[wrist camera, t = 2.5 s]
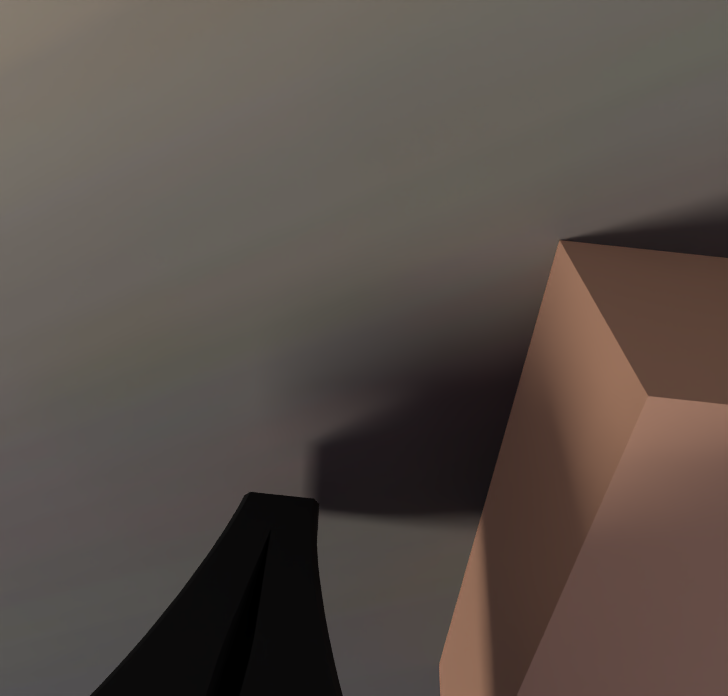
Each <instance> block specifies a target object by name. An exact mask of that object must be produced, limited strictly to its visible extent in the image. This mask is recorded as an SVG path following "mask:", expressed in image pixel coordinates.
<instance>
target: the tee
mask: <svg viewBox="0 0 728 696" xmlns="http://www.w3.org/2000/svg"><path fill="white" fill-rule="evenodd" d="M439 674H440V696H728V258H723V257H714V256H704V255H695V254H685V253H676V252H667V251H657V250H648V249H638V248H629V247H620V246H610V245H601V244H592V243H582V242H573V241H563V240H559V244H558V247H557V251H556V254H555V258H554V261H553V265H552V268H551V272H550V275H549V279H548V282H547V286H546V289H545V293H544V296H543V300H542V303H541V307H540V310H539V314H538V317H537V321H536V324H535V328H534V332H533V335H532V339H531V342H530V346H529V349H528V353H527V356H526V360H525V363H524V367H523V370H522V374H521V377H520V381H519V384H518V388H517V392H516V395H515V399H514V402H513V406H512V409H511V413H510V416H509V420H508V423H507V427H506V430H505V434H504V437H503V441H502V445H501V448H500V452H499V455H498V459H497V462H496V466H495V469H494V473H493V476H492V480H491V483H490V487H489V490H488V494H487V497H486V501H485V505H484V508H483V512H482V515H481V519H480V522H479V526H478V529H477V533H476V536H475V540H474V543H473V547H472V550H471V554H470V558H469V561H468V565H467V568H466V572H465V575H464V579H463V582H462V586H461V589H460V593H459V596H458V600H457V603H456V607H455V610H454V614H453V618H452V621H451V625H450V628H449V632H448V635H447V639H446V642H445V646H444V649H443V653H442V656H441V660H440V663H439Z"/></svg>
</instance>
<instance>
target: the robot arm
mask: <svg viewBox="0 0 728 696" xmlns="http://www.w3.org/2000/svg"><path fill="white" fill-rule="evenodd" d="M318 515H319V503H318V502H317V501H316V500H315V499H312V498H302V497H293V496H284V495H274V494H265V493H256V492H249V493H248V494H246V495H245V496H244V497H243V499H242V501H241V503H240V505H239V507H238V508H237V510H236V512H235V513H234V515H233V517H232V518H231V520H230V522H229V523H228V525H227V526H226V528H225V530H224V531H223V533H222V534H221V536H220V537H219V539H218V540H217V542H216V543H215V545H214V546H213V548H212V549H211V551H210V552H209V554H208V555H207V556H206V558H205V559H204V560H203V562H202V563H201V565H200V566H199V567H198V569H197V570H196V571H195V573H194V574H193V576H192V577H191V578H190V580H189V581H188V582H187V584H186V585H185V586H184V588H183V589H182V590H181V592H180V593H179V594H178V596H177V597H176V598H175V599H174V601H173V602H172V603H171V604H170V605H169V607H168V608H167V609H166V610H165V612H164V613H163V614H162V615H161V617H160V618H159V619H158V620H157V622H156V623H155V624H154V625H153V626H152V628H151V629H150V630H149V631H148V633H147V634H146V635H145V636H144V637H143V638H142V640H141V641H140V642H139V643H138V644H137V645H136V646H135V648H134V649H133V650H132V651H131V652H130V653H129V654H128V656H127V657H126V658H125V659H124V660H123V661H122V662H121V663H120V664H119V665H118V667H117V668H116V669H115V670H114V671H113V672H112V673H111V674H110V675H109V676H108V677H107V678H106V679H105V681H104V682H103V683H102V684H101V685H100V686H99V687H98V688H97V689H96V690H95V691H94V692H93V693H92V694H91V695H90V696H343V695H342V691H341V688H340V684H339V679H338V675H337V671H336V667H335V662H334V658H333V653H332V648H331V644H330V639H329V634H328V629H327V623H326V618H325V612H324V606H323V599H322V592H321V585H320V578H319V568H318V555H317V531H318Z"/></svg>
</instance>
